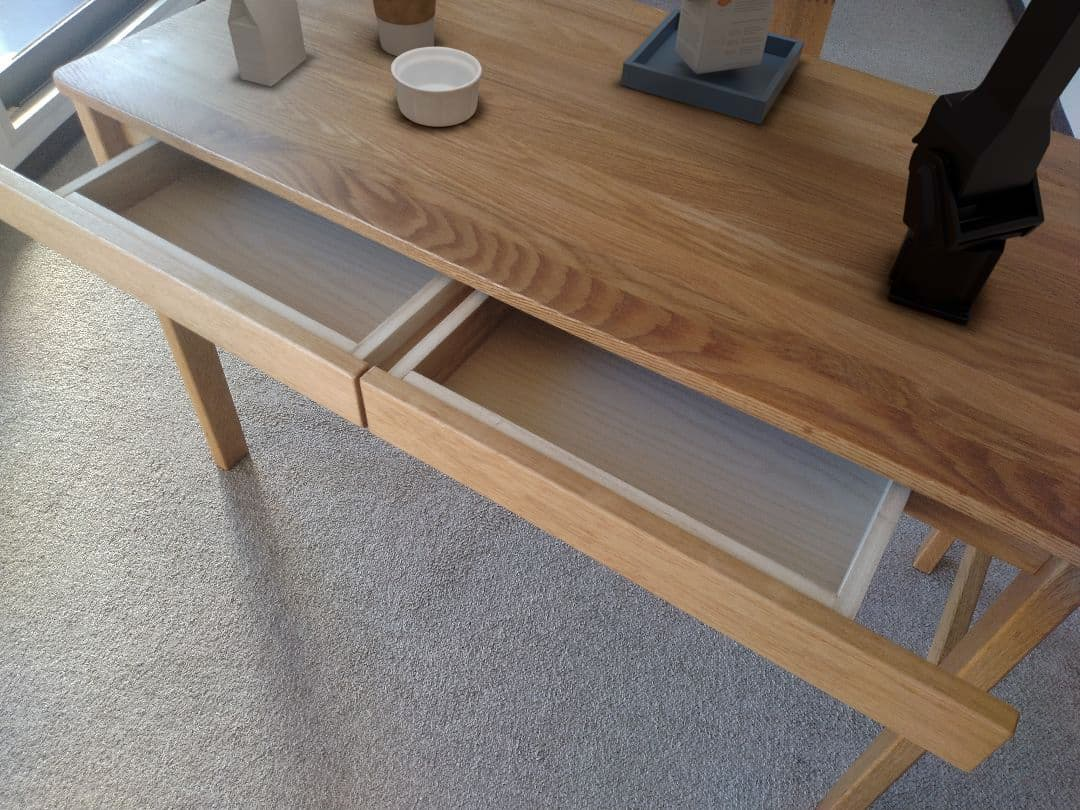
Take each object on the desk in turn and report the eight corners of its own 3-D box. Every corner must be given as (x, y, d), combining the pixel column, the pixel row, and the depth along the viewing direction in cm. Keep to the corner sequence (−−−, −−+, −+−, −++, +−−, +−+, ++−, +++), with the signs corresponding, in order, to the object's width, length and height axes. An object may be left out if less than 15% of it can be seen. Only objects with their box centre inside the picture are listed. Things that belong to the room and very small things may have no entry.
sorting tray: (798, 62, 95) (805, 41, 94) (760, 124, 86) (766, 102, 84) (670, 29, 100) (674, 8, 98) (620, 85, 90) (623, 62, 88)
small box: (736, 44, 94) (758, -57, 86) (761, 66, 91) (786, -37, 83) (672, 52, 92) (688, -51, 84) (695, 75, 89) (714, -30, 81)
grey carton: (306, 58, 91) (290, -39, 83) (271, 86, 86) (250, -14, 79) (277, 51, 91) (258, -46, 84) (240, 78, 87) (217, -22, 80)
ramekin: (489, 91, 88) (489, 51, 85) (472, 136, 82) (471, 94, 79) (406, 81, 88) (403, 41, 85) (384, 125, 82) (379, 83, 79)
